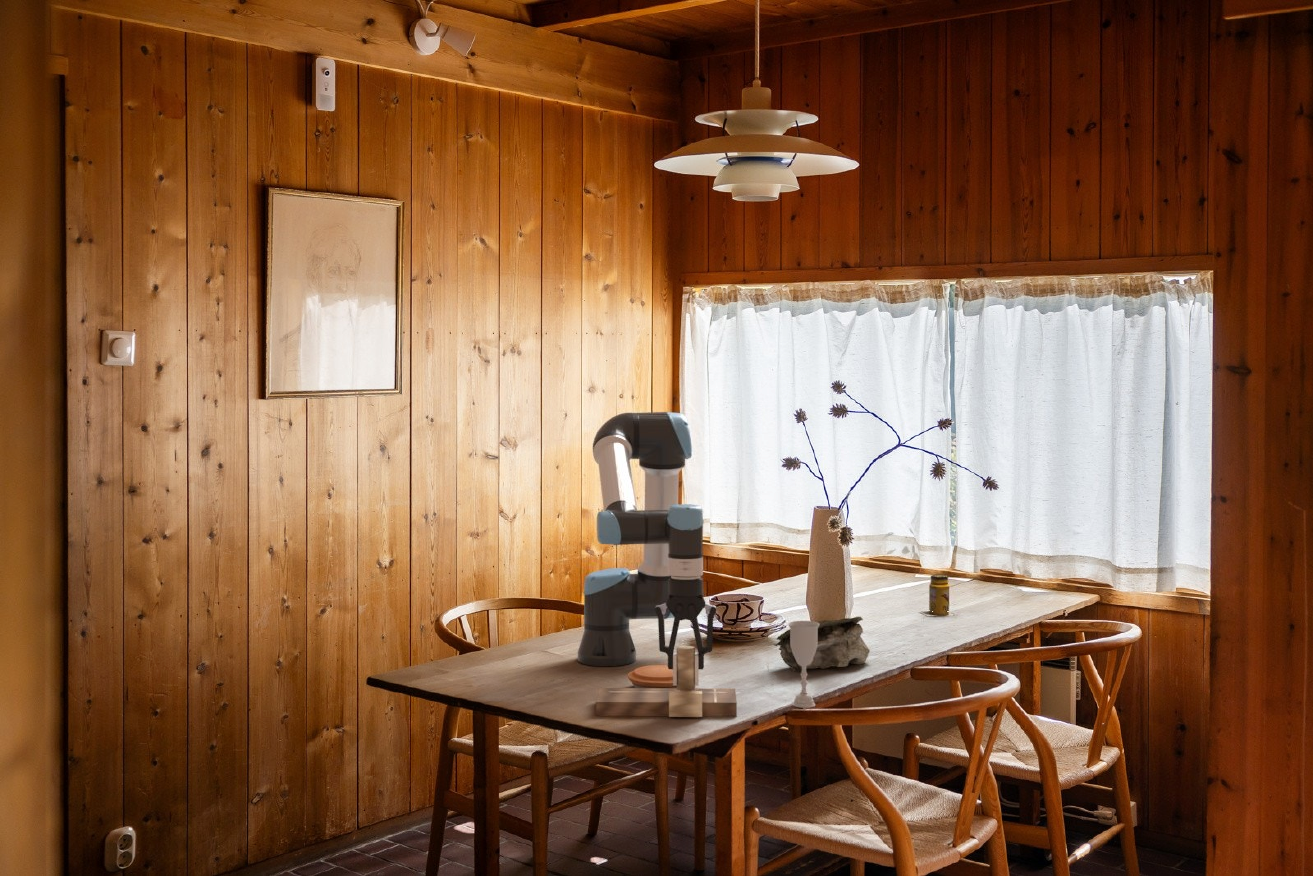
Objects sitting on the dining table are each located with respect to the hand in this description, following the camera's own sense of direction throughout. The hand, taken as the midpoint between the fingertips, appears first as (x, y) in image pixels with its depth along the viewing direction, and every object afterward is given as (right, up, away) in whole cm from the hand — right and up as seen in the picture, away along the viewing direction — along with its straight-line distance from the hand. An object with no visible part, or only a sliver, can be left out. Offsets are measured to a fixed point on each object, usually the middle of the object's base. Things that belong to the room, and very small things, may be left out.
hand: (685, 683), depth 261 cm
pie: (-5, -6, +20) cm, 21 cm away
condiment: (+80, -1, +112) cm, 138 cm away
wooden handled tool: (0, -6, 0) cm, 6 cm away
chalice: (+26, -6, +6) cm, 28 cm away
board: (-4, -6, +3) cm, 8 cm away
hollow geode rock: (+35, -5, +42) cm, 55 cm away
